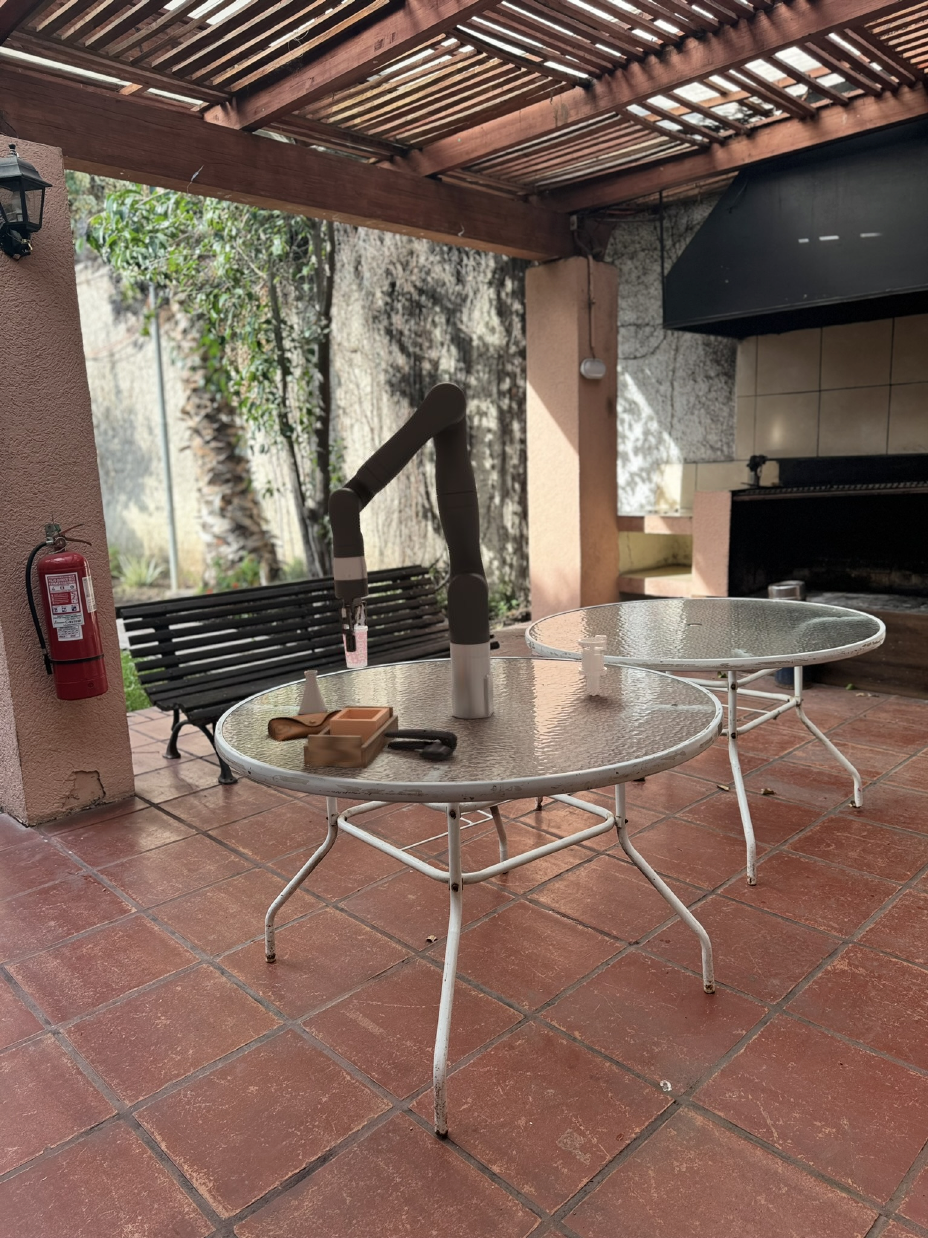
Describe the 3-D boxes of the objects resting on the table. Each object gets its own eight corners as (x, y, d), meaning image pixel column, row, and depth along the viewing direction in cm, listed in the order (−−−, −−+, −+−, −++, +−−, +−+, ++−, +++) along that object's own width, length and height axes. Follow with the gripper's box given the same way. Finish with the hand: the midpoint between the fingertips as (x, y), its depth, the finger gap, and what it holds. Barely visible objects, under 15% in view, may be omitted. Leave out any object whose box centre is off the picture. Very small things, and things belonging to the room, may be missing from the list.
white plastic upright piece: (607, 698, 219) (606, 637, 217) (578, 697, 221) (577, 638, 218) (607, 691, 226) (607, 633, 224) (579, 691, 227) (578, 633, 225)
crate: (390, 730, 192) (389, 708, 192) (376, 743, 182) (375, 721, 182) (346, 729, 194) (345, 707, 193) (330, 742, 184) (329, 720, 183)
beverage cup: (348, 669, 202) (343, 608, 200) (340, 665, 208) (336, 606, 206) (373, 666, 205) (369, 605, 203) (365, 662, 210) (361, 603, 208)
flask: (321, 716, 211) (319, 675, 210) (293, 715, 213) (290, 674, 211) (332, 708, 218) (330, 668, 217) (304, 708, 220) (302, 668, 218)
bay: (398, 733, 194) (397, 706, 193) (366, 767, 171) (365, 737, 170) (343, 732, 196) (342, 705, 195) (304, 766, 173) (302, 736, 172)
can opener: (466, 756, 177) (465, 728, 176) (444, 765, 171) (443, 737, 170) (399, 743, 187) (397, 717, 187) (376, 751, 182) (375, 724, 181)
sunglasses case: (275, 742, 190) (270, 712, 192) (270, 751, 196) (265, 722, 198) (357, 731, 197) (351, 702, 199) (349, 740, 203) (344, 712, 205)
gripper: (357, 579, 195) (362, 655, 198) (375, 572, 209) (380, 643, 212) (324, 580, 197) (330, 655, 199) (344, 573, 211) (349, 644, 213)
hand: (355, 648), depth 206 cm, fingers closed on beverage cup, 6 cm apart
